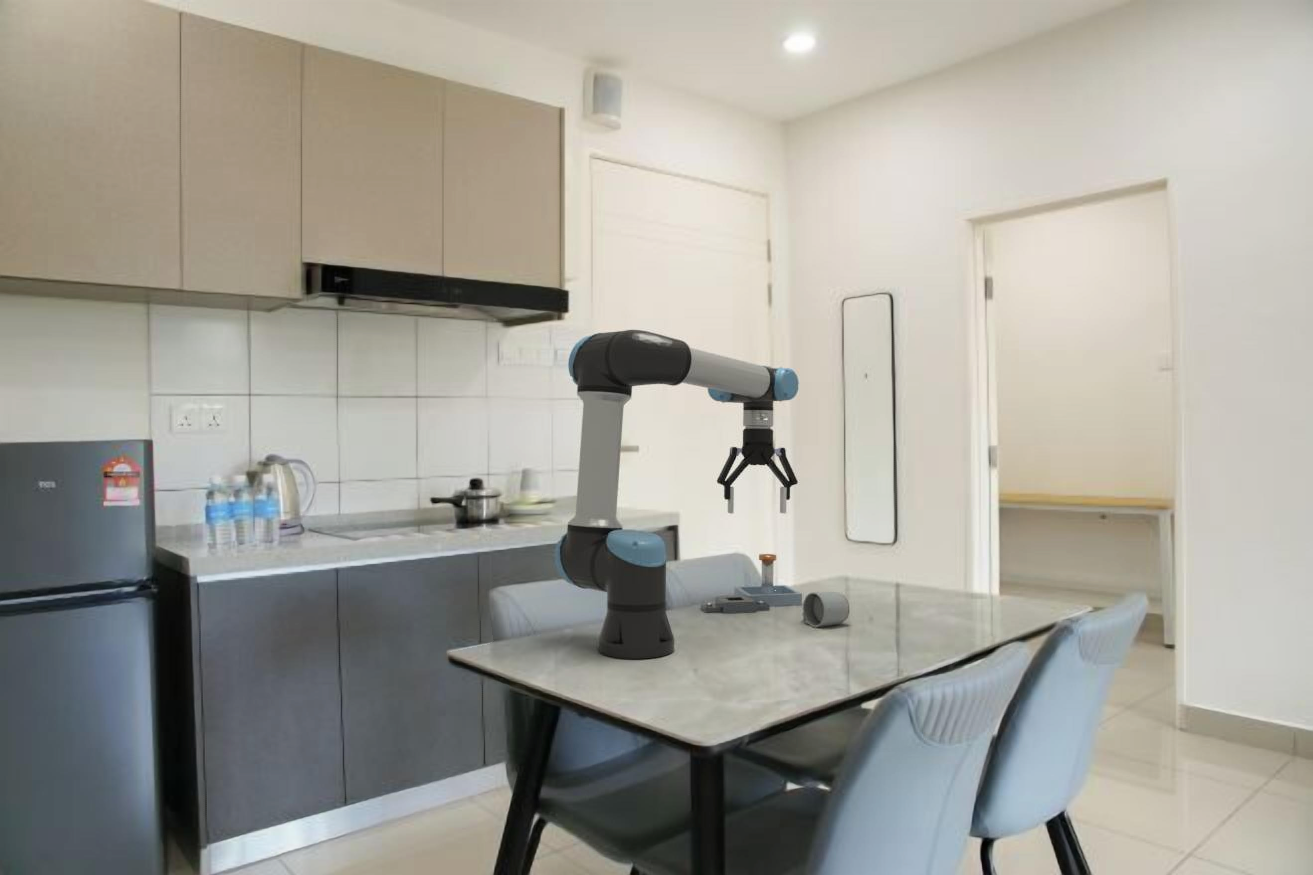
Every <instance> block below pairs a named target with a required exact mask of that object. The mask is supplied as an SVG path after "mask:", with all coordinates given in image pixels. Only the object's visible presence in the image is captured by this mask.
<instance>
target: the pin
mask: <svg viewBox="0 0 1313 875" xmlns="http://www.w3.org/2000/svg"><path fill="white" fill-rule="evenodd" d="M758 560H759V561H761V585H760V586H761V595H762V594H773V586H774V565H775V564H774V561H775V562H776V561H777V554H773V553H760V554H758Z"/></svg>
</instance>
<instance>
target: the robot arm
mask: <svg viewBox="0 0 1313 875" xmlns="http://www.w3.org/2000/svg"><path fill="white" fill-rule="evenodd" d="M567 362H568V363H567V364H568V365H567V366H568V373H569V376H570V377H572V381H573V383H574V384H575V385H576V386H577V388H576V390H577V391H576V395H577V396H578V397H579V398H580V400H581V401H582V403H583V405H582V419H581V420H582V421H581V433H580V449H579V463H578V474H577V475H578V476H577V477H578V478H577V492H576V503H575V504H576V505H575V515H574V517H573V518H572V519H570V520H569V521H568V522H567V528H566V533H564V534H563V535H562V536H561V537H560V540H558V542H557V544H556V546H555V550H554V563H555V567H556V570H557V572H558V574H559V575H560V576H561V577H562V579H563V580H564V581H565V582H566V583H568V584H571V585H573V586H576V587H578V588H580V589H587V590H588V589H589V590H594V591H599V592H604V593H606V597H607V598H606V601H607V602H606V603H607V604H606V605H607V606H606V608H607V609H606V615H605V617H604V621H603V624H602V627H601V631H600V633H599V637H598V652H599V653H600V654H602V655H605V656H607V657H613V658H619V659H634V660H635V659H636V660H637V659H652V658H659V657H664V656H667V655H670V654H671V653H673V652H674V651H675V637H674V633H673V630H672V627H671V624H670V620H669V618H668V615H667V611H666V599H667V598H666V587H667V586H666V585H667V583H666V582H667V581H666V580H667V579H666V578H667V554H666V544H665V543H666V542H665V541H664V539H663V538H662V537H661V536H660V535H658V534H656V533H654V532H653V533H652V532H649V531H644V530H636V529H623V525H622V524H621V522H620V521H619V520H618V519H617V511H618V510H617V509H618V496H619V495H618V494H619V493H618V492H619V481H620V480H619V479H620V478H619V477H620V467H621V466H620V465H621V450H622V436H623V435H622V434H623V422H624V421H623V420H624V407H625V404H627V403H628V402H629V401H630V400H632V396H633V395H632V393H633V387H637V386H648V385H667V386H671V387H672V386H673V387H674V386H675V387H676V386H679V385H681V384H687V385H692V386H697V387H701V388H707V394H709V397H710V398H711V399H712V400H713V401H716V402H721V403H722V404H724V403H733V404H735V403H737V404H743V406H742V409H743V412H742V413H743V415H742V416H743V418H742V426H743V427H745V428H744V429H743V430H742V446H741V447H737V446H731V447H730V448H729V456H728V457H727V460H726V462H725V464H724V466H723V467H722V469H721V471H720V473H719V475H718V477H717V480H716V483H717V484H719V485H722V486H723V493H724V494H723V497H724V500H727V513H728V514H734V509H735V508H734V504H735V502H734V501H735V498H734V497H735V495H734V494H735V487H734V486H732V485H733V484H734V482H735V481H736V480H737V478H739V477H740V475H741V474H742V473H743V471H744V470H745V469H746V468H747V467H748V466H749V465H750V466H767V467H768V468H769V469H770V470H771V472H772V473H773V474H774V476H775V477H776V479H778V480H779V482H780V483H781V484H782V486H780V488H779V513H780V514H783V515H785V514H787V501H790V499H791V487H792V486H795V485H797V484H798V479H797V477H796V475H795V472H794V470H793V468H792V466H791V464H790V462H789V459H788V457H787V450H786V448H785V447H778V448H774V445H773V444H774V430H773V429H772V427H773V426H774V402H780V403H781V402H784V401H791V400H793V398H795V397H796V395H797V394H798V391H799V379H798V375H797V373H796V371H794V369H792V368H790V367H778V368H775V367H773V368H772V366H770V365H760V364H756V363H753V362H748V361H745V360H741V359H737V358H732V357H728V356H724V355H720V354H717V353H713V352H710V351H709V352H708V351H705V350H701V349H697V348H692V347H690V345H689V344H688V343H687V342H686V341H684V340H681V339H677V338H673V337H670V336H666V335H663V334H659V333H655V332H651V331H647V330H640V329H626V330H621V331H610V332H609V331H608V332H597V333H593V334H591V335H588V336H584V337H582V338H581V339H580V340H579V341H578V342H576V343H575V345H574V346H573V347H572V349H571V351H570V354H569V358H568V361H567ZM740 454H741V455H742V457H743V458H742V460H741V461H740V462H739V465H737V466H736V468H735V469H734V470H733V471H732V473H731V474H730V475H729V473H730V471H731V469H732V467H733V465H734V464H735V461H736V459H737V457H738V456H739V455H740ZM775 454H776V455H775ZM774 455H775V456H776V457H778V459H779V462H780V464H781V466H782V468H783V471H784V472H782V471H781V469H780V468H779V467H778V465H777V464H776V462H775V461H774V460H773V459H772V458H773V456H774ZM784 473H785V474H784ZM728 475H729V476H728Z"/></svg>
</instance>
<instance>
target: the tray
mask: <svg viewBox="0 0 1313 875" xmlns="http://www.w3.org/2000/svg"><path fill="white" fill-rule="evenodd" d="M761 586H762V585H750V586H748V585H747V586H734V587H733V588H734V591H733V593H734V595H733V596H745V595H746V596H748V597H749V598H751V599H753V600H754V601H755V602H757V601H764V602H765V603H767V604H768V605H770V607H779V606H780V607H784V606H786V607H787V606H803V593H801V592H799V591H797V590H796V589H794V588H792V587H790V586H789V585H785V584H779V585H777V584H776V585H773V594H762V595H761ZM775 590H776V591H775Z"/></svg>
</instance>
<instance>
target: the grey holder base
mask: <svg viewBox="0 0 1313 875" xmlns="http://www.w3.org/2000/svg"><path fill="white" fill-rule="evenodd" d="M714 601H715V602H714V603H712V602H706V603H700V610H702V611H703V613H723V614H741V613H742V614H743V613H745V614H747V613H756V612H758V611H759V612H763V611H764V612H765V611H770V607H771V606H770V605H768V604H767V603H765V602H764V601H757V602H755V601H754V600H753V599H751V598H749V597H748V596H746V595H745V596H734V595H725V596H724V595H719V596H715V598H714Z"/></svg>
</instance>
